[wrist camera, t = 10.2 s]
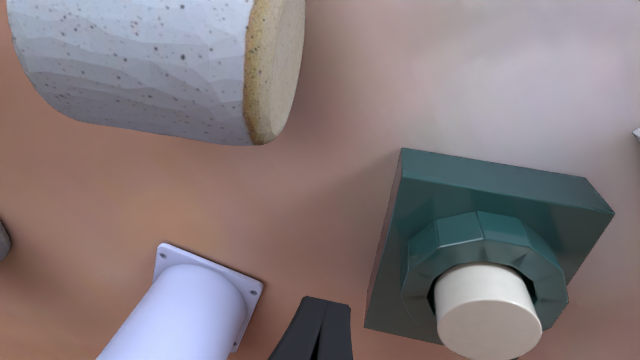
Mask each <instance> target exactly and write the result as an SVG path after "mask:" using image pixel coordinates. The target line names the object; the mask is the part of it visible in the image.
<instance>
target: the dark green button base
mask: <svg viewBox="0 0 640 360" xmlns="http://www.w3.org/2000/svg"><path fill="white" fill-rule="evenodd" d="M614 215H615V212H614V211H613V210H612V209H611V207H610V206H609V205H608V204H607V203H606V201H605V200H604V199H603V198H602V197H601V196H600V194H599V193H598V192H597V191H596V190H595V188H594V187H593V186H592V185H591V184H590V183H589V181H588V180H587V179H586V178H584V177H578V176H572V175H566V174H560V173H554V172H548V171H541V170H535V169H529V168H523V167H517V166H511V165H505V164H499V163H493V162H487V161H481V160H475V159H469V158H463V157H457V156H451V155H445V154H438V153H432V152H426V151H420V150H414V149H408V148H401V151H400V155H399V159H398V164H397V168H396V172H395V176H394V180H393V185H392V189H391V193H390V197H389V201H388V206H387V210H386V214H385V218H384V222H383V227H382V231H381V235H380V239H379V243H378V247H377V252H376V256H375V260H374V264H373V268H372V273H371V277H370V281H369V285H368V289H367V298H366V308H365V318H364V328H367V329H372V330H376V331H381V332H385V333H390V334H394V335H399V336H403V337H408V338H412V339H417V340H421V341H426V342H430V343H435V344H439V345H444V344H443V343H442V341H441V340H440V338H439V335H438V332H437V323H436V313H435V303H434V286H435V284H436V282H437V280H438V278H439V277H440V276H441V275H442V274H443V273H444V272H445V271H447V270H448V269H450V268H452V267H454V266H456V265H459V264H465V263H470V262H476V261H488V262H493V263H498V264H502V265H504V266H507V267H509V268H511V269H512V270H514V271H515V272H516V273H518V274H519V275H520V276H521V277H522V279H523V280H524V282H525V284H526V286H527V289H528V292H529V294H530V297H531V299H532V302H533V305H534V307H535V310H536V312H537V315H538V318H539V320H540V323H541V326H542V332H543V331H545V330H547V329H549V328H551V327H552V326H553V324H554V323H555V321H556V320H557V319H558V317H559V316H560V314H561V313H562V311H563V310H564V309H565V307H566V306H567V304H568V303H569V301H568V300H569V298H568V293H567V285H568V284H569V282H570V281H571V279H572V278H573V276H574V275H575V273H576V272H577V270H578V269H579V267H580V266H581V264H582V263H583V261H584V260H585V258H586V257H587V255H588V254H589V253H590V251H591V250H592V248H593V247H594V245H595V244H596V242H597V241H598V239H599V238H600V236H601V235H602V233H603V232H604V230H605V229H606V227H607V226H608V224H609V223H610V221H611V220H612V218H613V217H614ZM444 346H445V345H444ZM518 358H519V357H517V358H514V359H510V360H517V359H518Z"/></svg>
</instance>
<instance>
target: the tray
mask: <svg viewBox="0 0 640 360" xmlns="http://www.w3.org/2000/svg"><path fill="white" fill-rule="evenodd" d="M633 134H634V135H635V137H636V138H637V140H638V141H639V142H640V128H639V129H637V130H635V131H633Z"/></svg>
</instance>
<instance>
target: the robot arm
mask: <svg viewBox="0 0 640 360" xmlns="http://www.w3.org/2000/svg"><path fill="white" fill-rule="evenodd" d="M262 290H263V284H262V283H261V282H260V281H258V280H255V279H253V278H250V277H248V276H245V275H243V274H241V273H238V272H236V271H233V270H231V269H228V268H226V267H223V266H221V265H218V264H216V263H214V262H211V261H209V260H206V259H204V258H201V257H199V256H196V255H194V254H191V253H189V252H187V251H184V250H182V249H179V248H177V247H174V246H172V245H169V244H167V243H161V244H160V245H159V246H158V248H157V255H156V262H155V269H154V276H153V283H152V286H151V287H150V289H149V290H148V291H147V293H146V294H145V295H144V297H143V298H142V299H141V301H140V302H139V303H138V305H137V306H136V307H135V309H134V310H133V311H132V312H131V314H130V315H129V316H128V318H127V319H126V320H125V322H124V323H123V324H122V326H121V327H120V328H119V330H118V331H117V332H116V334H115V335H114V336H113V337H112V339H111V340H110V341H109V343H108V344H107V345H106V347H105V348H104V349H103V351H102V352H101V353H100V355H99V356H98V357H97V359H96V360H227V358H228V356H229V354H230V352H232V353H234V352H236V351H237V349H238V347H239V344H240V342H241V340H242V337H243V335H244V332H245V330H246V328H247V325H248V323H249V321H250V318H251V316H252V314H253V311H254V309H255V306H256V304H257V302H258V299H259V297H260V295H261V292H262ZM350 313H351V308H350V307H349V306H348V305H346V304H341V303H337V302H332V301H328V300H323V299H318V298H314V297H309V296H306V297H303V298H302V300H301V303H300V305H299V307H298V309H297V311H296V313H295V315H294V317H293V319H292V321H291V323H290V325H289V326H288V328H287V330H286V331H285V333H284V335H283V336H282V338H281V340H280V341H279V343H278V344H277V346H276V347H275V349H274V350H273V352H272V353H271V355H270V357H269V358H268V360H353V354H352V344H351V329H350Z"/></svg>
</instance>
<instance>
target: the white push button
mask: <svg viewBox="0 0 640 360" xmlns="http://www.w3.org/2000/svg"><path fill="white" fill-rule="evenodd" d="M434 303H435V313H436V323H437V332H438V335H439V338H440V340H441V341H442V343H443V344H444V345H445V346H446V347H447V348H448V349H450V350H451V351H452V352H454V353H456V354H458V355H460V356H462V357H465V358H468V359H472V360H510V359H514V358H517V357H519V356H522V355H524V354H526V353H527V352H529V351H530V350H532V349H533V348H534V347H535V346H536V345H537V344H538V342H539V340H540V338H541V334H542V326H541V323H540V320H539V318H538V315H537V312H536V310H535V307H534V305H533V302H532V299H531V297H530V294H529V292H528V289H527V286H526V284H525V282H524V280H523V279H522V277H521V276H520V275H519V274H518V273H516V272H515V271H514V270H512V269H511V268H509V267H507V266H504V265H502V264H498V263H493V262H488V261H476V262H470V263H465V264H459V265H456V266H454V267H452V268H450V269H448V270H447V271H445V272H444V273H443V274H442V275H441V276H440V277H439V278H438V280H437V282H436V284H435V286H434Z"/></svg>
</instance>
